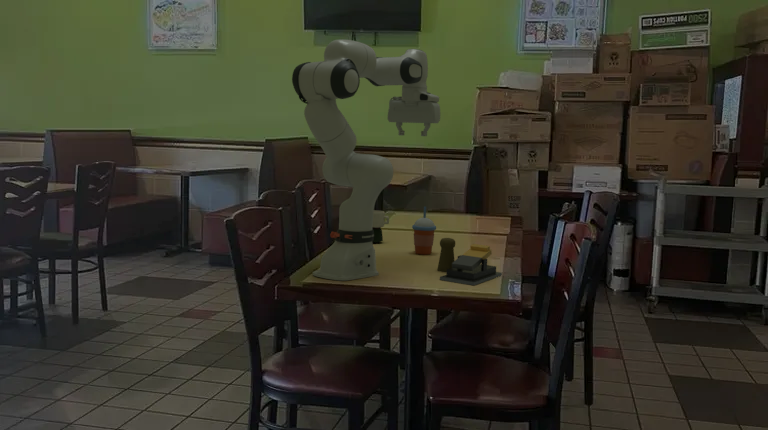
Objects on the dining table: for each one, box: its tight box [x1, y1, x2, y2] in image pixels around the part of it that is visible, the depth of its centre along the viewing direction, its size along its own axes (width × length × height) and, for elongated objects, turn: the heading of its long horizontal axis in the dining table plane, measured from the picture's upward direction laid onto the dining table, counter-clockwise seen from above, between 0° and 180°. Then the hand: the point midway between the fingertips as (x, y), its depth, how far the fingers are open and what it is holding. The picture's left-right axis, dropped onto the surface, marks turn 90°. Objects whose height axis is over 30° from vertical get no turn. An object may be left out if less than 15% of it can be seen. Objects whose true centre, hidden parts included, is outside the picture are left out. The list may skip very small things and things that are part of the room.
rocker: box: [452, 243, 493, 271], centre depth 225 cm, size 14×7×3 cm, turn 146°
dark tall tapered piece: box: [437, 237, 456, 273], centre depth 237 cm, size 6×6×11 cm
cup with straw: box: [411, 206, 437, 256], centre depth 268 cm, size 9×9×18 cm
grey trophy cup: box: [372, 209, 390, 243], centre depth 290 cm, size 11×7×13 cm, turn 86°
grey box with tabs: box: [439, 254, 503, 286], centre depth 226 cm, size 20×12×7 cm, turn 146°
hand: (412, 135), depth 251 cm, fingers open, 8 cm apart
